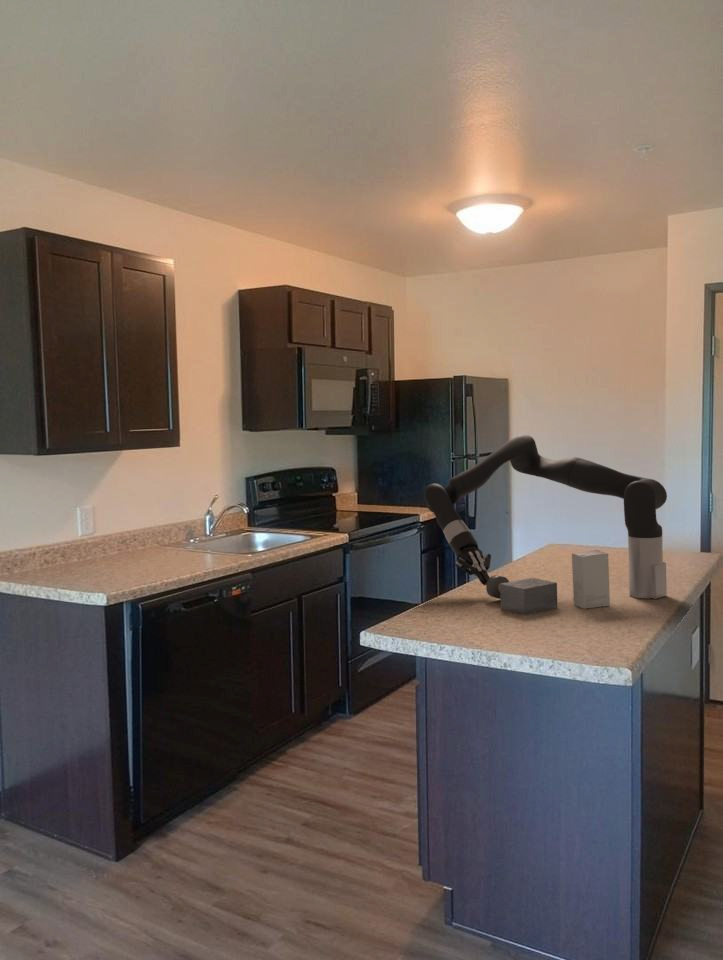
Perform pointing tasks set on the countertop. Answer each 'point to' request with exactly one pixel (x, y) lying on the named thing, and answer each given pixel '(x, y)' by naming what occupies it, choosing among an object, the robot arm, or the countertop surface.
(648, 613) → the countertop surface
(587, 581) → the skincare box
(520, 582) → the block
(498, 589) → the knob
